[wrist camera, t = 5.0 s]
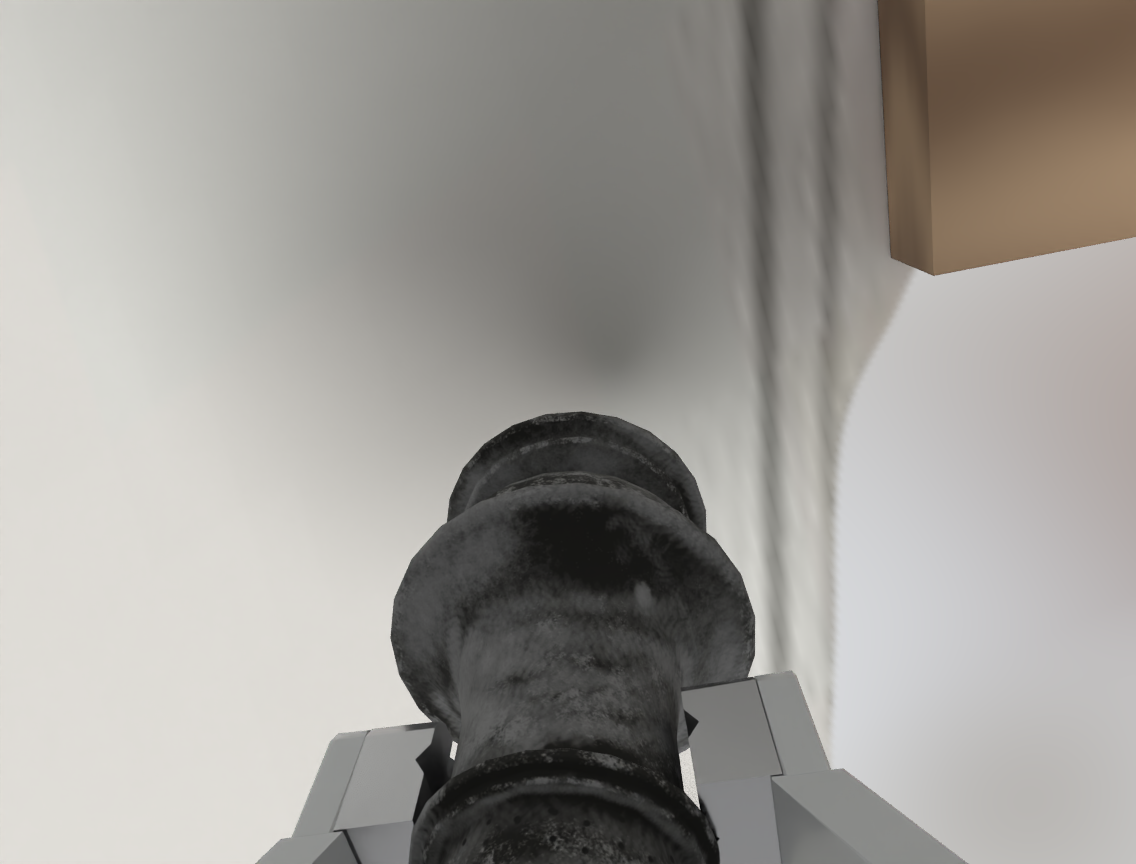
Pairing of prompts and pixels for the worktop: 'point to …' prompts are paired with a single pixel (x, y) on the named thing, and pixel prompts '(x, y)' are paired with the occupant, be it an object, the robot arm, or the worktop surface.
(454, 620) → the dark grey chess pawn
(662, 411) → the worktop surface
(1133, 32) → the base block
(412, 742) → the robot arm
